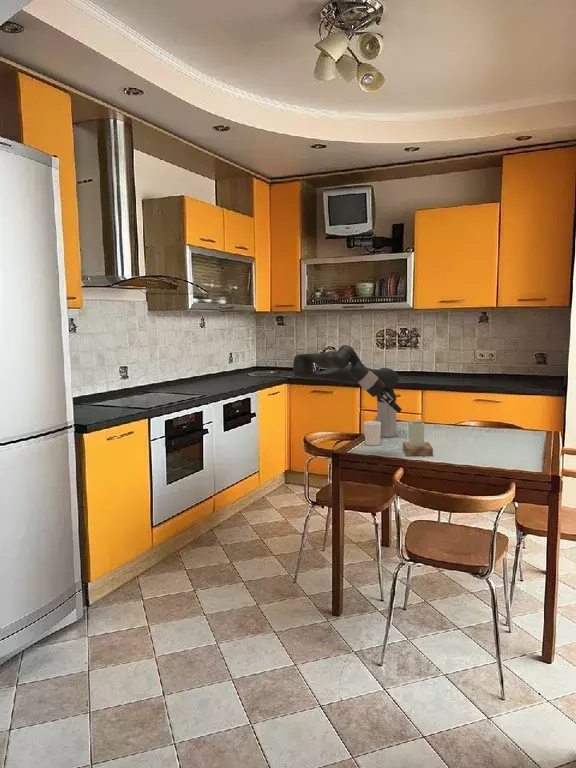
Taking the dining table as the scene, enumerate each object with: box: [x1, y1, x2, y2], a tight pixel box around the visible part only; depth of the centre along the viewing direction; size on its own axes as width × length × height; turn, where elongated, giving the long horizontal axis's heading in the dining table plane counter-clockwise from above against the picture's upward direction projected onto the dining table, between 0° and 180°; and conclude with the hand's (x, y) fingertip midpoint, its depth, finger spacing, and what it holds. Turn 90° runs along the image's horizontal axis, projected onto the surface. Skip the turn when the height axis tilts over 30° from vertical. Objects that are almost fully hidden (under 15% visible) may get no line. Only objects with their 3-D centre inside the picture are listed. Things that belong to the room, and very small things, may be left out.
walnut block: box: [402, 441, 434, 458], centre depth 245 cm, size 11×11×4 cm
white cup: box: [363, 420, 381, 446], centre depth 264 cm, size 8×8×10 cm
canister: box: [408, 419, 425, 447], centre depth 244 cm, size 5×5×11 cm
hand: (398, 409), depth 242 cm, fingers open, 8 cm apart
